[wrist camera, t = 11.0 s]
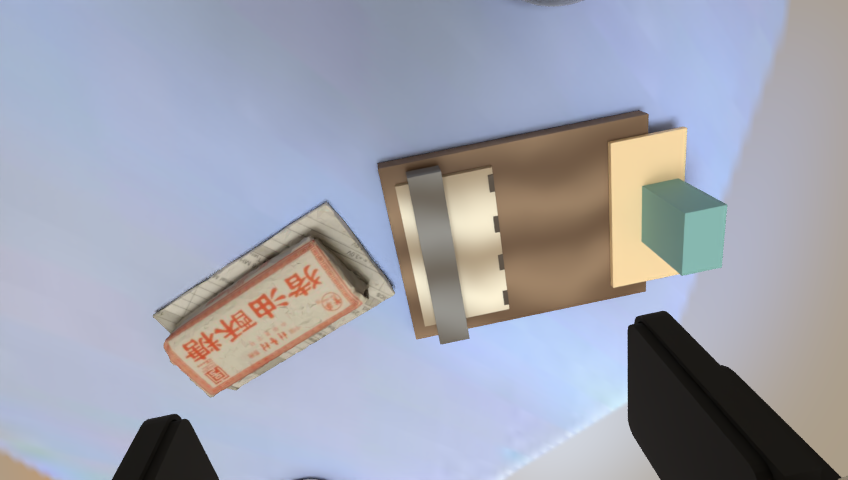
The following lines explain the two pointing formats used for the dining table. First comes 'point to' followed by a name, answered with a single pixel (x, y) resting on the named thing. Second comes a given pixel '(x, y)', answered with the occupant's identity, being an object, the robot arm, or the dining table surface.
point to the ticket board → (506, 226)
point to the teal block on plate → (659, 211)
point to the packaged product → (272, 302)
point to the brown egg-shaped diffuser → (552, 2)
